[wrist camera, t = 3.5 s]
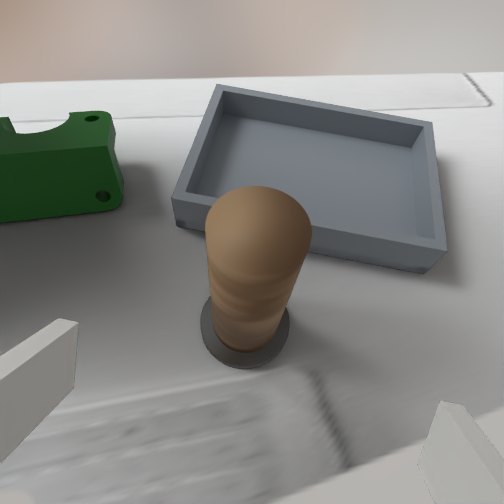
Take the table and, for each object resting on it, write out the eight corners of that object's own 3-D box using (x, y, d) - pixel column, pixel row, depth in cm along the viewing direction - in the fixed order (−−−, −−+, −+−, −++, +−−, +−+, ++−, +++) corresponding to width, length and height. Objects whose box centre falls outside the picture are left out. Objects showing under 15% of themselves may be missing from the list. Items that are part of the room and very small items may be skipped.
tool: (191, 358, 23) (165, 276, 13) (213, 279, 27) (206, 161, 16) (280, 377, 23) (325, 308, 13) (292, 294, 26) (335, 186, 16)
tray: (176, 226, 29) (171, 198, 26) (217, 115, 36) (216, 83, 33) (423, 274, 28) (447, 251, 25) (414, 151, 35) (432, 122, 32)
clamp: (115, 201, 35) (134, 116, 30) (111, 242, 31) (133, 152, 26) (-35, 171, 30) (-45, 62, 25) (-63, 215, 26) (-82, 96, 20)
